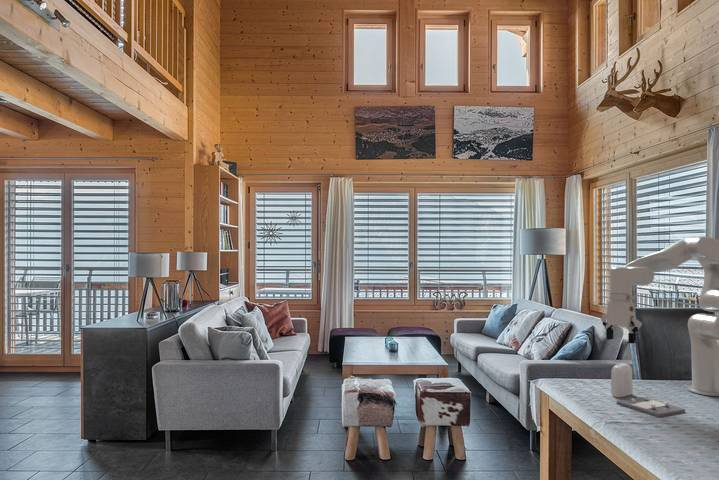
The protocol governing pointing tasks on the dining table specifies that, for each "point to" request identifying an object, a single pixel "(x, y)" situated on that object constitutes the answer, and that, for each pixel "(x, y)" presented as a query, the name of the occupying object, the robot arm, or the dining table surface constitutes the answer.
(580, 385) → the dining table surface
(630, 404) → the tray
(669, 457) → the dining table surface
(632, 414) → the dining table surface
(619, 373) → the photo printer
